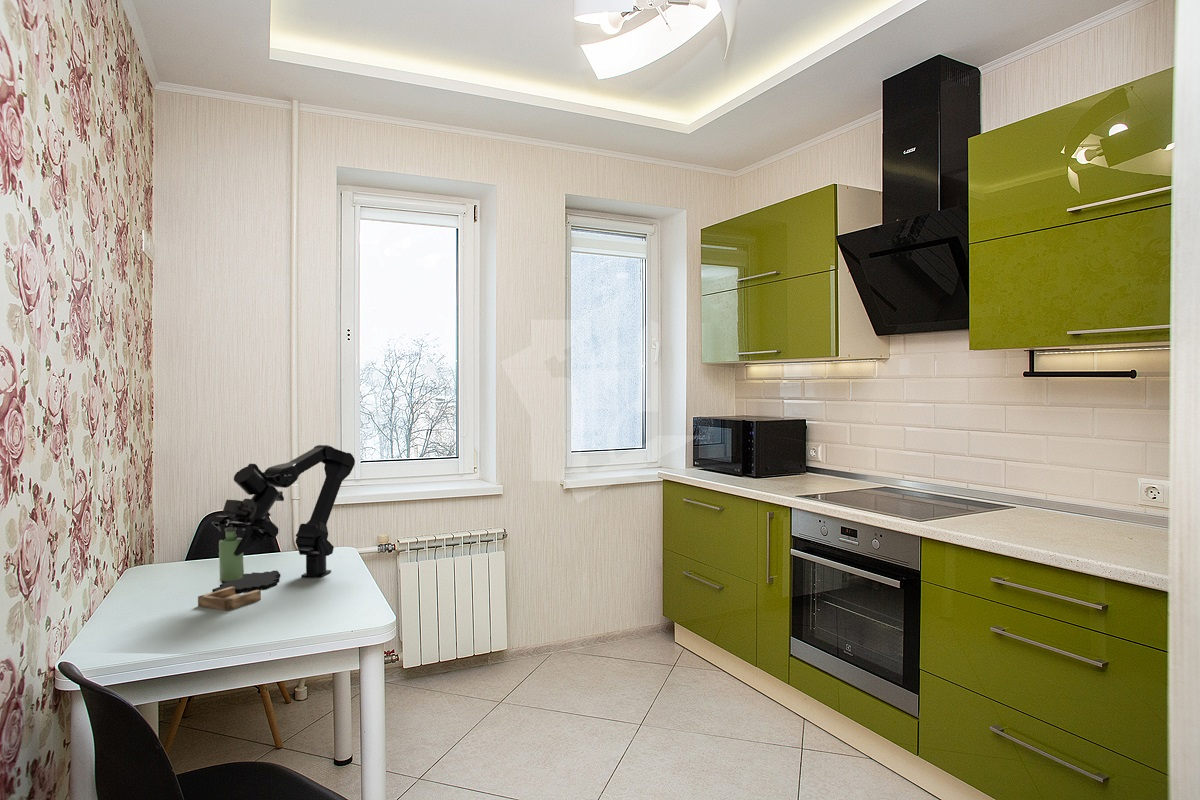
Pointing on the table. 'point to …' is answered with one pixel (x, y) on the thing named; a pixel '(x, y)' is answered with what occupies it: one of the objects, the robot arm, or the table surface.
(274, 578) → the decorative item
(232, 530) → the bottle
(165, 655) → the table surface
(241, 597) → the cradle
